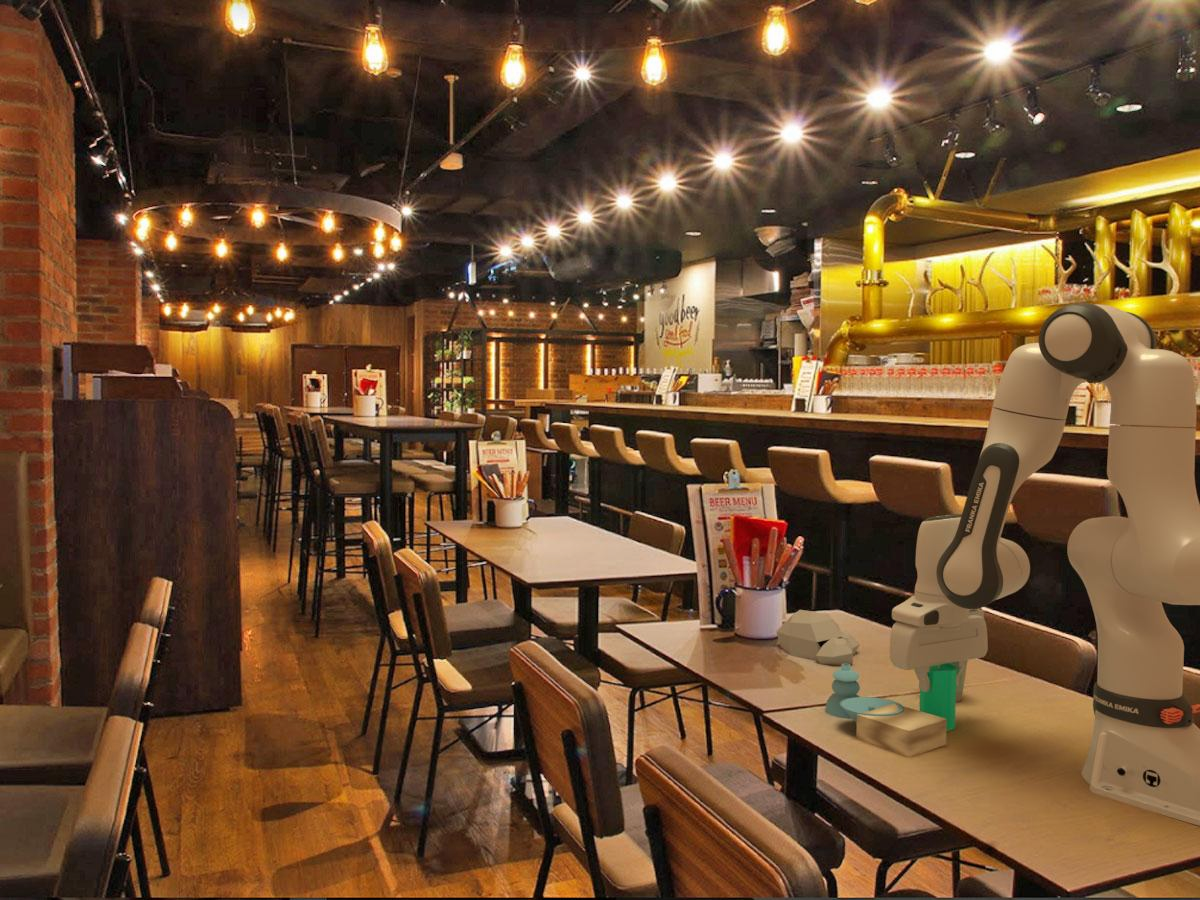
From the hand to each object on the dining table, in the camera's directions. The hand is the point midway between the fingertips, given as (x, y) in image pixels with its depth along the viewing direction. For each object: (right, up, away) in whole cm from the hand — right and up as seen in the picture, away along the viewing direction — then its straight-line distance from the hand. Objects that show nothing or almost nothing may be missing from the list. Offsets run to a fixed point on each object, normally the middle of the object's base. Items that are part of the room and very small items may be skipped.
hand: (939, 688), depth 171 cm
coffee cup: (+7, -6, +17) cm, 19 cm away
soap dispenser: (-13, -7, 0) cm, 15 cm away
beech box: (-9, -7, -9) cm, 15 cm away
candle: (0, -7, +1) cm, 7 cm away
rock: (-11, -4, +46) cm, 48 cm away
